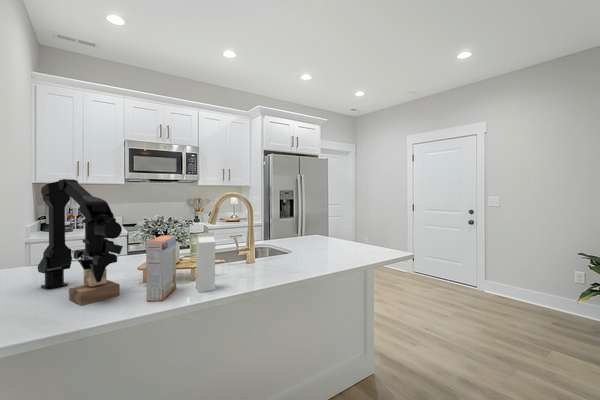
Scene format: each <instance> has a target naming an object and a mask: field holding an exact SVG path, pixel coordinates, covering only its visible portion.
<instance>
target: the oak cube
mask: <svg viewBox="0 0 600 400" xmlns="http://www.w3.org/2000/svg"><path fill="white" fill-rule="evenodd" d="M106 280H107V268H105V271H104V273H103V276H102V279H101V281H100V282H96V279H95V277H94V274H93V272H92V269H86V270H84V269H83V285H87V286H90V287H92V286H96V285H100V284H105V283H106Z"/></svg>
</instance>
